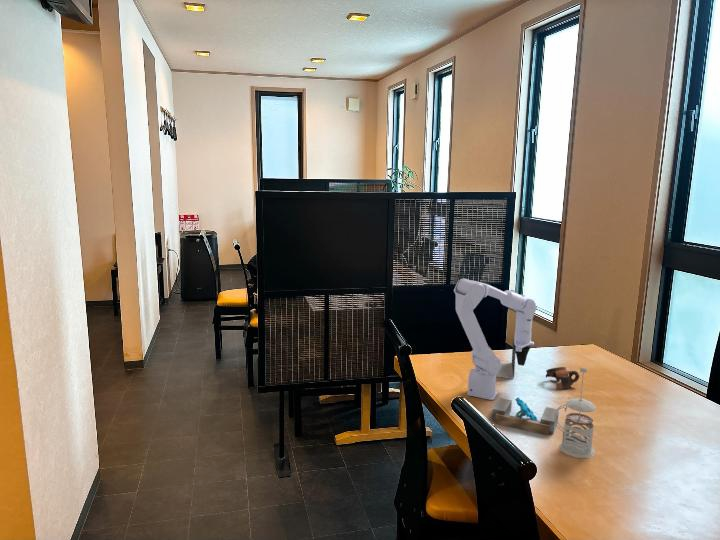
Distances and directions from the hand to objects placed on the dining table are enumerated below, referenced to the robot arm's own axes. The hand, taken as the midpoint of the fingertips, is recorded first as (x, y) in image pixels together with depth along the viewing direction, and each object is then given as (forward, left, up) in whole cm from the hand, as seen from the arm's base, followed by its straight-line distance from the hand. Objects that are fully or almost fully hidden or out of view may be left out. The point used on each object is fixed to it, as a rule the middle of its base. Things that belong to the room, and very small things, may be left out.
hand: (521, 364), depth 194 cm
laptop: (-12, +16, -10) cm, 23 cm away
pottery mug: (+13, +12, -10) cm, 20 cm away
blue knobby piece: (+7, -26, -10) cm, 29 cm away
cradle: (+7, -27, -9) cm, 29 cm away
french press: (+23, -38, -10) cm, 45 cm away
